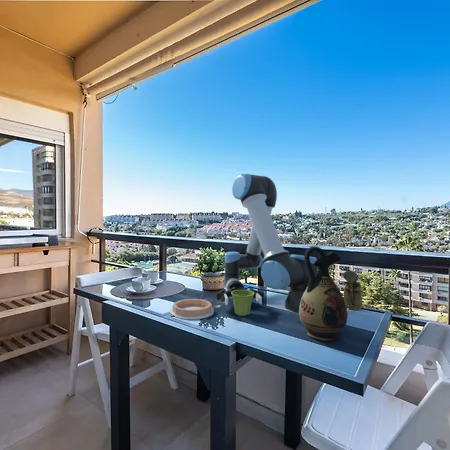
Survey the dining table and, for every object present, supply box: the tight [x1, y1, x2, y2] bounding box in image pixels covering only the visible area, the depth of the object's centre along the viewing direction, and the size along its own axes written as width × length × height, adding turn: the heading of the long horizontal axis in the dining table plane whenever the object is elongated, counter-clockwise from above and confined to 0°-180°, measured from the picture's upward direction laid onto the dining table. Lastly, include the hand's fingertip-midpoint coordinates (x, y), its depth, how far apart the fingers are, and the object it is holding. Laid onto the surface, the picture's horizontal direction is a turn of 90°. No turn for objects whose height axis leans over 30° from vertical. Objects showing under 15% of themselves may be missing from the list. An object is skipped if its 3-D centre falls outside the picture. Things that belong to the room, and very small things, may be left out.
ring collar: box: [169, 298, 215, 320], centre depth 120 cm, size 18×18×3 cm
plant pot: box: [231, 289, 254, 317], centre depth 119 cm, size 9×9×9 cm
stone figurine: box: [342, 269, 364, 310], centre depth 128 cm, size 9×14×18 cm, turn 147°
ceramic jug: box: [298, 246, 349, 342], centre depth 98 cm, size 17×15×30 cm
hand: (244, 301), depth 115 cm, fingers open, 13 cm apart
